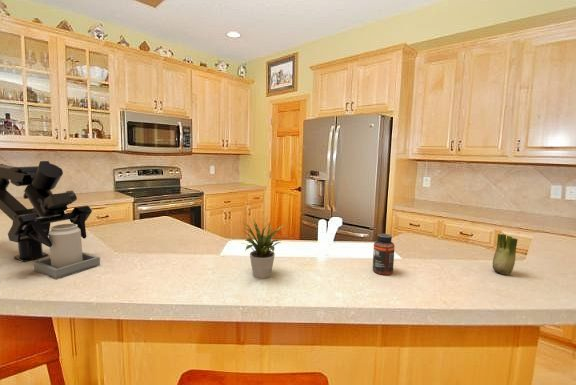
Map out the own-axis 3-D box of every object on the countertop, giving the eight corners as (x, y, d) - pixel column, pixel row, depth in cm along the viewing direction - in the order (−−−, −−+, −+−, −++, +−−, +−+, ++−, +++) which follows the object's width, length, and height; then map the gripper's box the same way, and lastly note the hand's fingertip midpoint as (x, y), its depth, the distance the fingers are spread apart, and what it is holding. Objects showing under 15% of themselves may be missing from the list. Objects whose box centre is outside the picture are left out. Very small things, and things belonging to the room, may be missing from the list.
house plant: (222, 279, 83) (222, 221, 81) (246, 262, 96) (246, 212, 94) (270, 289, 78) (271, 227, 76) (288, 269, 91) (290, 216, 89)
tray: (34, 270, 86) (33, 262, 86) (78, 258, 96) (77, 250, 96) (56, 279, 81) (55, 270, 81) (100, 265, 91) (99, 257, 91)
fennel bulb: (515, 277, 89) (520, 238, 88) (497, 275, 90) (501, 236, 89) (505, 270, 95) (510, 232, 93) (488, 268, 96) (492, 231, 94)
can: (65, 272, 84) (61, 229, 83) (44, 268, 86) (41, 227, 84) (89, 262, 91) (86, 223, 90) (69, 260, 93) (66, 221, 92)
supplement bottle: (394, 270, 93) (396, 234, 91) (391, 277, 87) (394, 239, 86) (373, 266, 95) (376, 231, 94) (370, 273, 90) (372, 236, 88)
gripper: (12, 185, 79) (41, 232, 75) (86, 180, 95) (111, 218, 92) (0, 212, 83) (26, 257, 80) (72, 202, 100) (96, 239, 97)
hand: (68, 241), depth 87 cm, fingers open, 9 cm apart
